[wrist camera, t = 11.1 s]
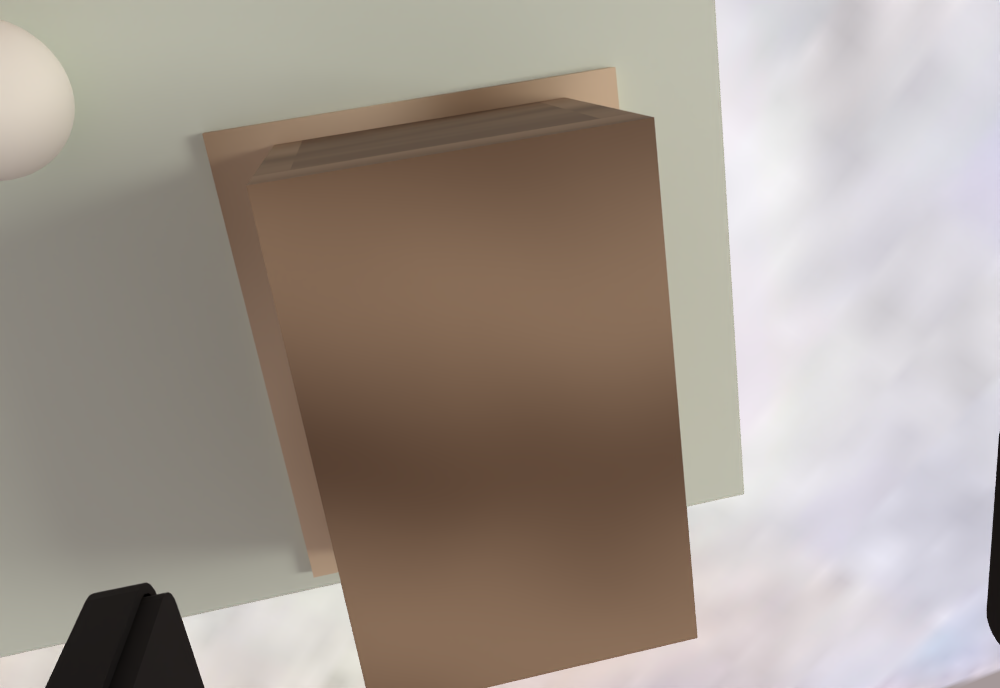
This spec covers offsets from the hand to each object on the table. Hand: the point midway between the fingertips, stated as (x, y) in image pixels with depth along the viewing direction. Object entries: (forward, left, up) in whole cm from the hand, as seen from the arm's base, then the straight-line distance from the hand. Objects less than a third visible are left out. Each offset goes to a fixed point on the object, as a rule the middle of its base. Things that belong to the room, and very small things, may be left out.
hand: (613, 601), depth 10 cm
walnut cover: (0, +1, -12) cm, 12 cm away
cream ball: (+8, -6, -12) cm, 16 cm away
